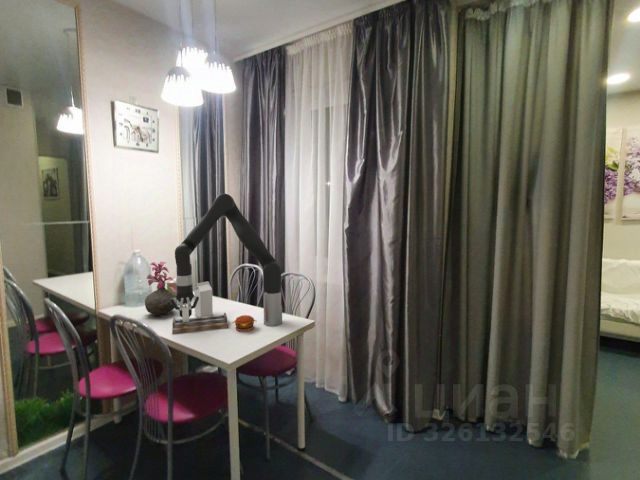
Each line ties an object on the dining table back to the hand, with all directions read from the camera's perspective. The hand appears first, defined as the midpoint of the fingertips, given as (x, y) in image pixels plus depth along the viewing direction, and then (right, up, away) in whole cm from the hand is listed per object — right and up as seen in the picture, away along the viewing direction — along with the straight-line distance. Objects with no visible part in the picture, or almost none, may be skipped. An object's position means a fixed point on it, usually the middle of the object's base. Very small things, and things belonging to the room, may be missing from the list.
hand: (185, 316), depth 168 cm
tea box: (-22, -1, +44) cm, 50 cm away
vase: (-21, -4, +20) cm, 30 cm away
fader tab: (0, -4, 0) cm, 4 cm away
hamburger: (+30, -6, 0) cm, 31 cm away
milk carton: (+2, -4, +20) cm, 20 cm away
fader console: (+6, -6, +3) cm, 9 cm away
